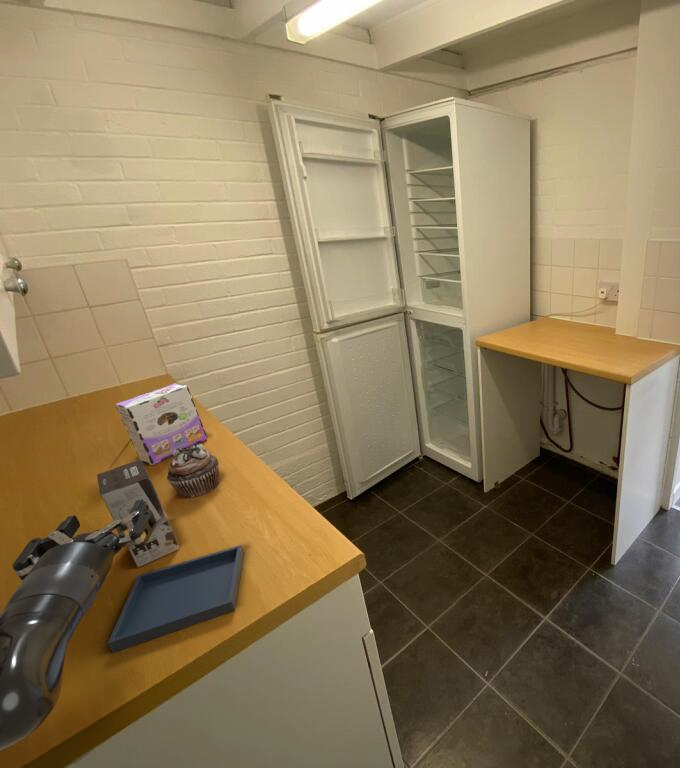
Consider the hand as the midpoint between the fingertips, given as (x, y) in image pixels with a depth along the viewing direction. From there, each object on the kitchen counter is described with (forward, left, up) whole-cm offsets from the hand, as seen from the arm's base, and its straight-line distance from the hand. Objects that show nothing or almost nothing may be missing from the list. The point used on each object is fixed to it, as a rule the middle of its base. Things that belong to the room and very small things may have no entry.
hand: (109, 511), depth 67 cm
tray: (+8, -9, -14) cm, 18 cm away
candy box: (-5, +48, -14) cm, 51 cm away
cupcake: (+4, +26, -14) cm, 30 cm away
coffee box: (0, +8, -14) cm, 16 cm away
